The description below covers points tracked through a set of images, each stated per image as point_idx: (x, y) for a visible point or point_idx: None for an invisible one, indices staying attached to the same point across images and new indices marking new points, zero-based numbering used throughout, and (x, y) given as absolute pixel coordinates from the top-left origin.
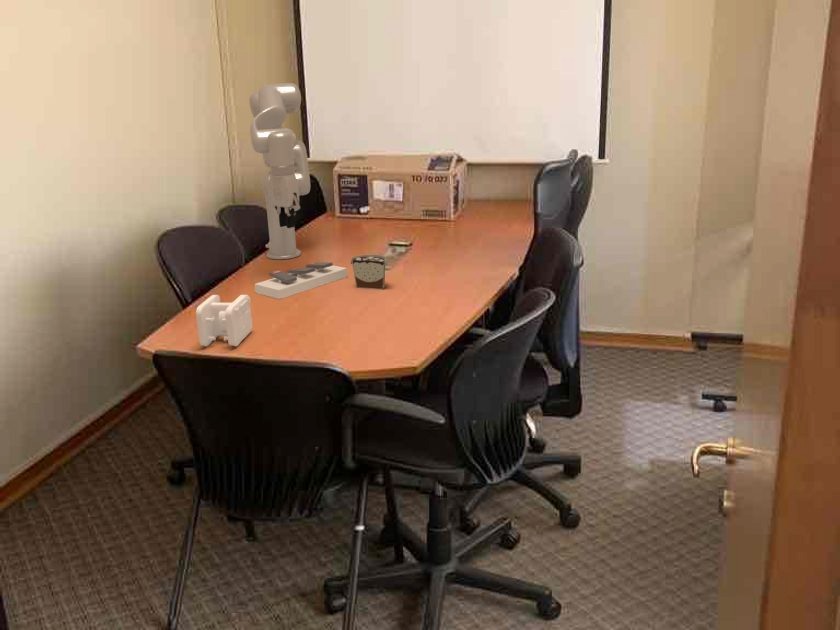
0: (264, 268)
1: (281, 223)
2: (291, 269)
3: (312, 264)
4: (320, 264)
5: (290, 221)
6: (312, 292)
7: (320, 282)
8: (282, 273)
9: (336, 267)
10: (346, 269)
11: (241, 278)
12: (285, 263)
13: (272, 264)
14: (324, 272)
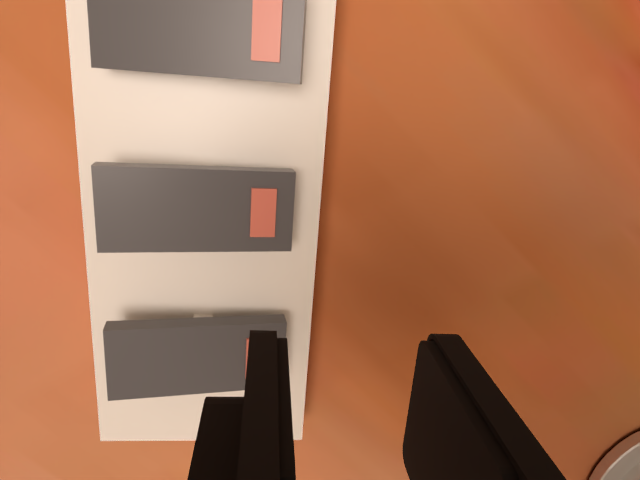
0: (618, 297)
1: (437, 371)
2: (274, 188)
3: (239, 339)
4: (160, 346)
5: (203, 440)
6: (30, 101)
7: None
8: (219, 46)
9: (165, 423)
10: (101, 432)
11: (624, 96)
12: (570, 406)
13: (622, 364)
14: None
